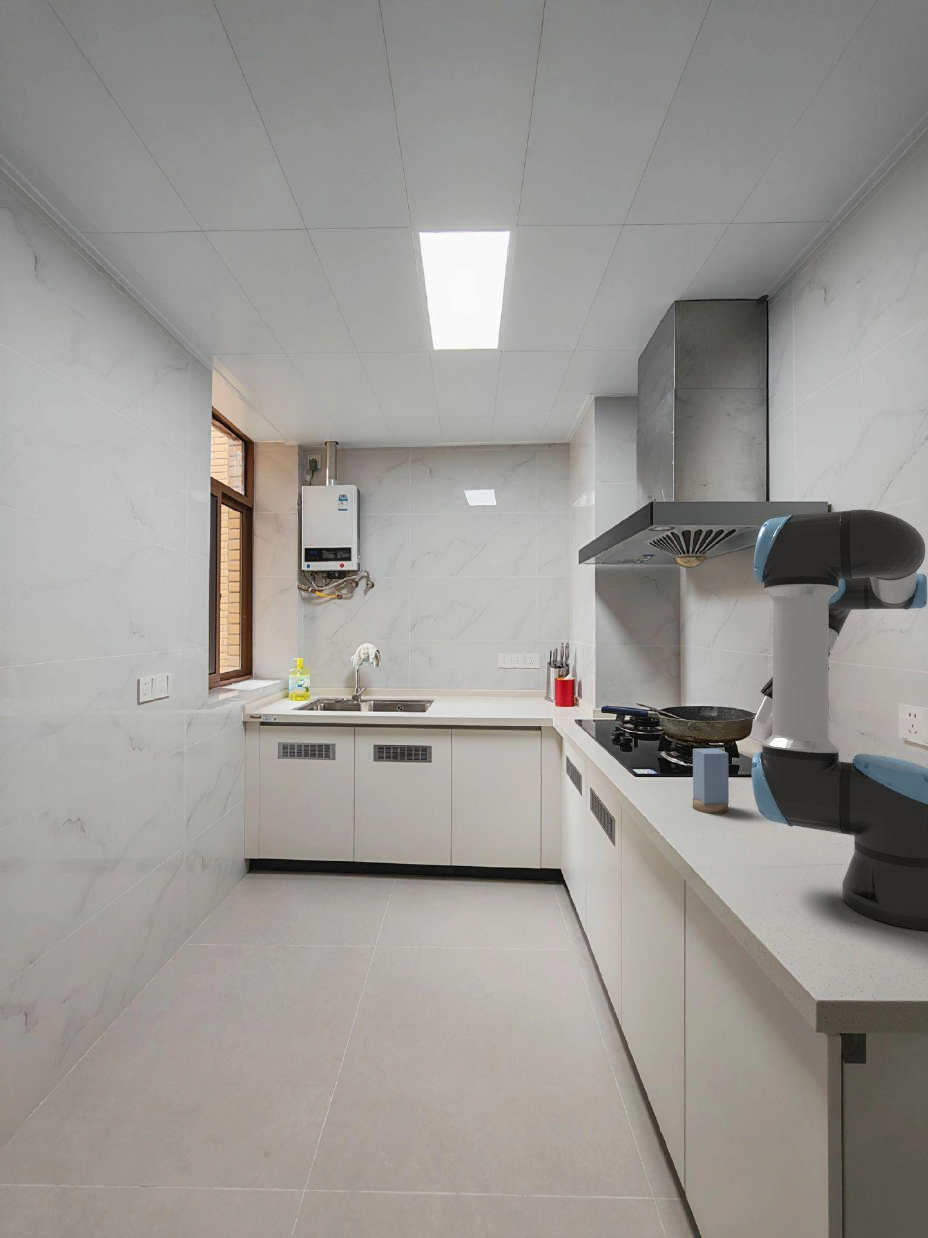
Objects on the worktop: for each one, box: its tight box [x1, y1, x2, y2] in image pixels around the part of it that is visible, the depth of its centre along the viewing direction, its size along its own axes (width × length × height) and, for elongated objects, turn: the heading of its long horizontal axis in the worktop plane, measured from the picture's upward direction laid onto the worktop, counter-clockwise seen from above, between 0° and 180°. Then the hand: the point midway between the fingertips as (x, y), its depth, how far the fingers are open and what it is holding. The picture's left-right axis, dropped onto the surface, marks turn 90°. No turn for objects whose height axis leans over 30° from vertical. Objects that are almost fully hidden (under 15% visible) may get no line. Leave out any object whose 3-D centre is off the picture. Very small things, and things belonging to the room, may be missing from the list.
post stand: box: [692, 797, 729, 815], centre depth 151 cm, size 8×8×8 cm
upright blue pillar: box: [692, 747, 730, 805], centre depth 151 cm, size 6×6×12 cm
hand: (776, 725), depth 146 cm, fingers open, 13 cm apart
